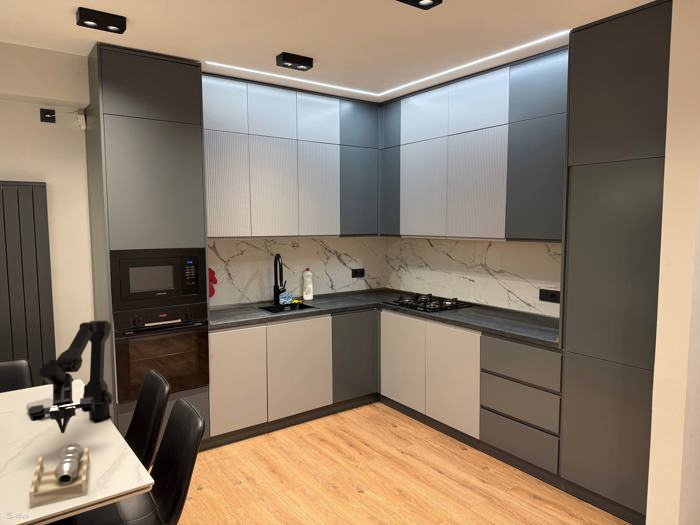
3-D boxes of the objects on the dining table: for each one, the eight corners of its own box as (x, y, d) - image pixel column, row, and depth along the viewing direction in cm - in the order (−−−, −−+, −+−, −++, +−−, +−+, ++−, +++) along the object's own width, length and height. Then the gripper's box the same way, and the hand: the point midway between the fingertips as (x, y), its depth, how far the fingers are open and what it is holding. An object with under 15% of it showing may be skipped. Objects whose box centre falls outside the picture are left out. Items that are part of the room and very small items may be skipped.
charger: (35, 424, 197) (27, 414, 208) (61, 417, 203) (52, 407, 214) (34, 413, 196) (26, 403, 207) (60, 406, 203) (51, 397, 213)
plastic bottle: (85, 457, 167) (79, 487, 149) (62, 462, 165) (53, 493, 147) (82, 439, 167) (76, 466, 148) (59, 443, 164) (50, 472, 146)
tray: (40, 470, 161) (39, 457, 160) (89, 460, 167) (88, 447, 166) (30, 507, 140) (29, 492, 140) (86, 494, 146) (85, 479, 146)
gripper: (94, 395, 182) (96, 436, 173) (34, 405, 174) (33, 448, 165) (92, 380, 174) (94, 422, 165) (29, 390, 166) (27, 435, 157)
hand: (62, 432), depth 164 cm, fingers closed
